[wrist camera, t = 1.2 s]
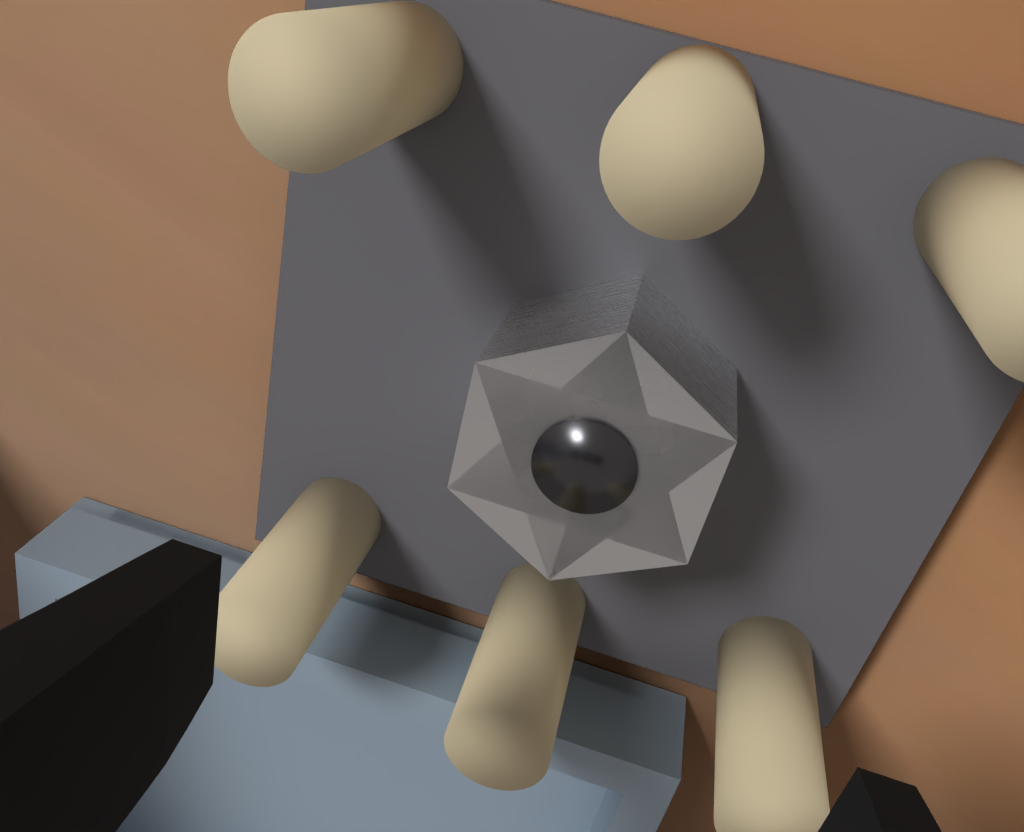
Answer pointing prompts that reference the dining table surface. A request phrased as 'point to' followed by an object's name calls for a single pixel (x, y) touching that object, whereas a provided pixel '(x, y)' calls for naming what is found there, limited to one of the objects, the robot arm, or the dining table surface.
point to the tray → (368, 719)
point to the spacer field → (687, 283)
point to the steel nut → (597, 430)
